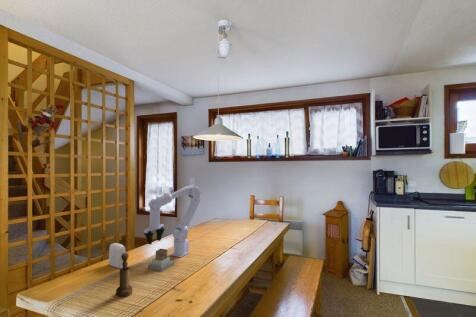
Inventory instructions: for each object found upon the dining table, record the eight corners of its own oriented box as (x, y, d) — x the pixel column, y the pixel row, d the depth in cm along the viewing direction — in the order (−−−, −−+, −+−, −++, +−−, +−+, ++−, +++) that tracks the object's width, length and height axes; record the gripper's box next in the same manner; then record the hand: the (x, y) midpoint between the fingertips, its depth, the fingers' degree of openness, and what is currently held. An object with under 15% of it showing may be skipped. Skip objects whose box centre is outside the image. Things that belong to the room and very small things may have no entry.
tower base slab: (160, 262, 153) (160, 258, 153) (174, 265, 148) (174, 261, 148) (148, 268, 144) (148, 264, 144) (162, 272, 139) (162, 267, 139)
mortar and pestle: (134, 290, 119) (135, 250, 119) (129, 297, 112) (129, 255, 112) (119, 290, 119) (120, 250, 119) (113, 297, 112) (114, 255, 112)
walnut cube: (160, 256, 149) (160, 248, 149) (167, 257, 147) (167, 249, 147) (155, 259, 144) (155, 251, 144) (162, 260, 143) (162, 252, 143)
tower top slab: (159, 259, 150) (160, 255, 150) (169, 261, 148) (170, 257, 148) (151, 264, 144) (151, 259, 144) (161, 266, 141) (162, 261, 141)
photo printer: (126, 266, 145) (126, 244, 145) (119, 269, 141) (119, 246, 141) (114, 262, 150) (115, 241, 150) (107, 265, 146) (108, 243, 146)
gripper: (151, 222, 147) (150, 246, 147) (168, 217, 160) (167, 239, 160) (141, 221, 150) (141, 244, 150) (159, 216, 163) (158, 238, 163)
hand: (154, 242), depth 155 cm, fingers open, 7 cm apart
